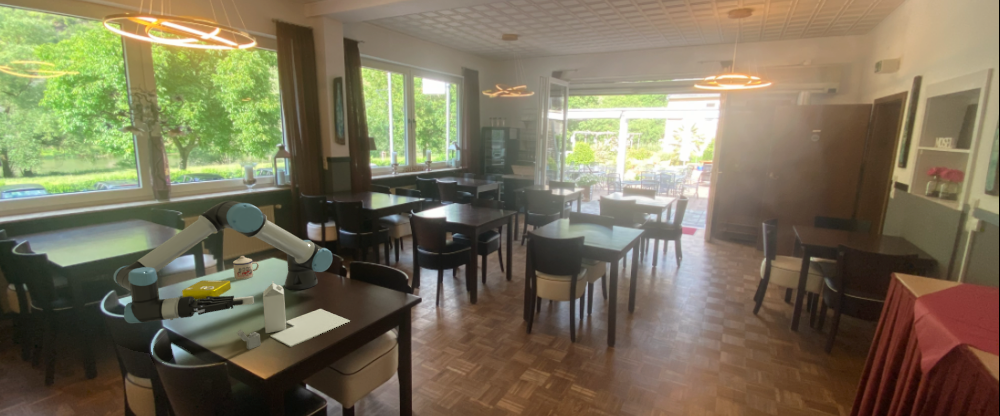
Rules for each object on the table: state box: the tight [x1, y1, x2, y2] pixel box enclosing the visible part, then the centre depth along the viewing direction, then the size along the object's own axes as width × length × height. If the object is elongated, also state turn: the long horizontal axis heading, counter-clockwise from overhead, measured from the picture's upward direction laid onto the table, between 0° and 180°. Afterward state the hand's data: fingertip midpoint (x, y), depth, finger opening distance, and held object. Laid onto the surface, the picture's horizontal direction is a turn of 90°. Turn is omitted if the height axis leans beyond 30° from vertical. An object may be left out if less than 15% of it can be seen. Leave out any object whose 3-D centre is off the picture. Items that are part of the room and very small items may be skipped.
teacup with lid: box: [232, 255, 260, 280], centre depth 225 cm, size 12×9×12 cm
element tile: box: [181, 279, 232, 300], centre depth 201 cm, size 15×15×5 cm
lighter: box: [236, 329, 262, 350], centre depth 150 cm, size 7×2×8 cm, turn 149°
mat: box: [269, 308, 351, 348], centre depth 168 cm, size 26×21×1 cm
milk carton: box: [262, 282, 287, 334], centre depth 165 cm, size 7×7×19 cm
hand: (253, 299), depth 162 cm, fingers closed
